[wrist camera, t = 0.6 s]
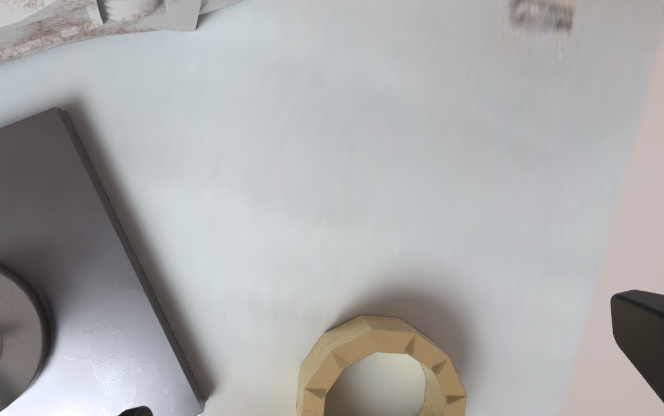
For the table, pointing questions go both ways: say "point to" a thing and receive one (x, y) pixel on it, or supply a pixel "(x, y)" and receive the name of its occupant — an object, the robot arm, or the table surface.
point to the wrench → (90, 21)
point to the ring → (365, 339)
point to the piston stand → (76, 290)
